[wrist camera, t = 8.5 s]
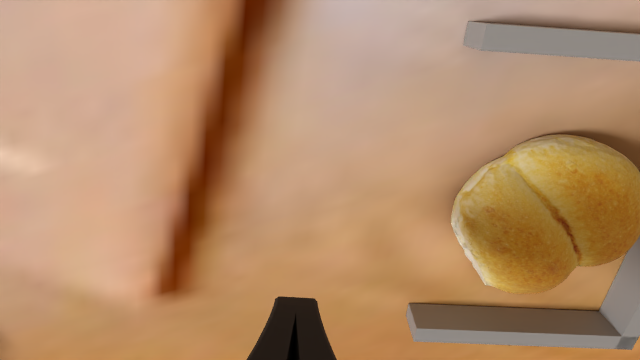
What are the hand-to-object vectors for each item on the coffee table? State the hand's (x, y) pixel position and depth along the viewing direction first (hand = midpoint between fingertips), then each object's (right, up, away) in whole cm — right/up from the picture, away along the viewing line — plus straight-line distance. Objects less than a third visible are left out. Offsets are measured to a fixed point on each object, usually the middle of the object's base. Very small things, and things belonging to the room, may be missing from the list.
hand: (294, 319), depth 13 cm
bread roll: (+12, +3, +8) cm, 15 cm away
